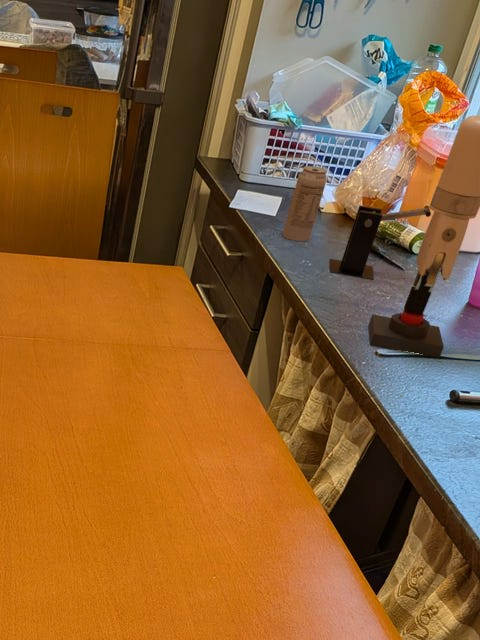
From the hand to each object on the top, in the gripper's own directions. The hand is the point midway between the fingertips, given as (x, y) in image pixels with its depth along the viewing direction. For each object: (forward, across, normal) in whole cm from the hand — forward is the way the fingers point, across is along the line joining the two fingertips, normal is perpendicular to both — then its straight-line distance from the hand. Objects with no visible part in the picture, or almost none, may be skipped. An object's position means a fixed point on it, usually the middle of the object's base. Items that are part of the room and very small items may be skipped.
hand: (412, 311), depth 164 cm
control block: (+6, 0, 0) cm, 6 cm away
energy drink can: (+6, +51, +21) cm, 55 cm away
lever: (-6, +34, +4) cm, 35 cm away
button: (+2, 0, 0) cm, 2 cm away
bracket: (+6, +34, +9) cm, 36 cm away
